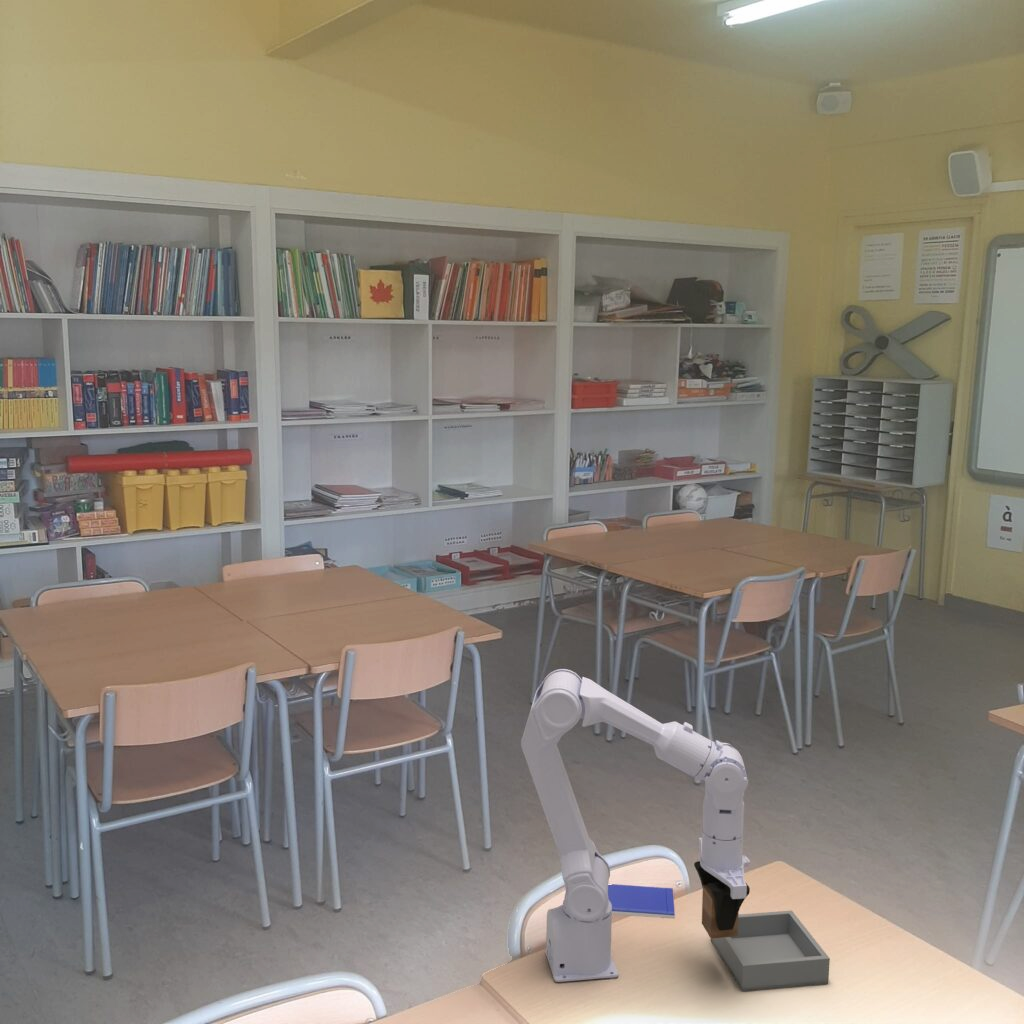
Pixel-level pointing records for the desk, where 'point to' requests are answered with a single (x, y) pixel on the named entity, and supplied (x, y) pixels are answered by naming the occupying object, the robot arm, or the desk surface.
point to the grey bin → (773, 953)
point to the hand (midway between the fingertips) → (719, 920)
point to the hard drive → (641, 901)
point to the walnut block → (714, 917)
